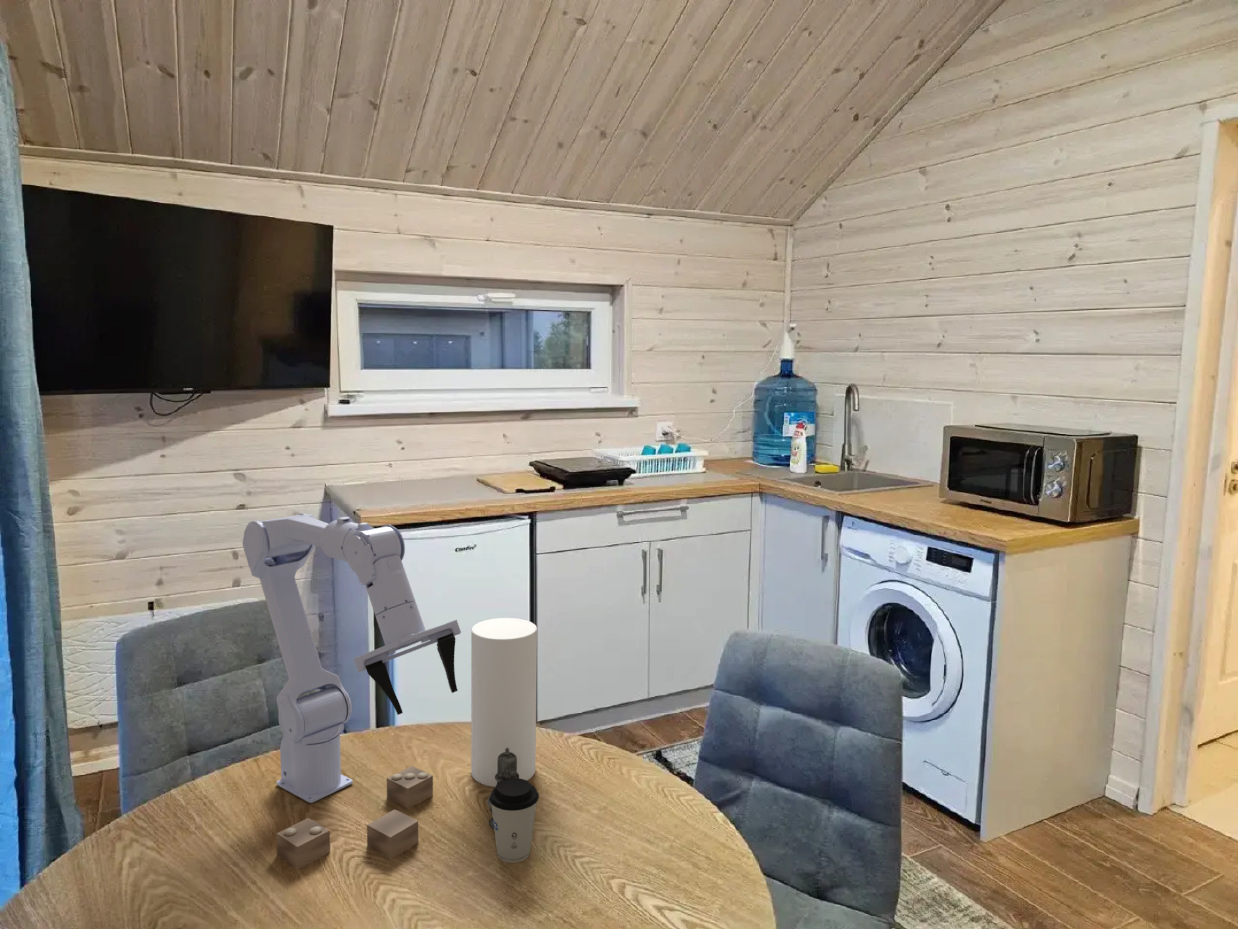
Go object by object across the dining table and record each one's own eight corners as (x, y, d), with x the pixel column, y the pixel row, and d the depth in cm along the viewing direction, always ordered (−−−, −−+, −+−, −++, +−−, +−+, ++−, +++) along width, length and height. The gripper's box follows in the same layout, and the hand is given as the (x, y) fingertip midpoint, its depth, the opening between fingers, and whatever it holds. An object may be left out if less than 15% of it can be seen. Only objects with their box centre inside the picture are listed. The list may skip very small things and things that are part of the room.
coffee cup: (546, 844, 120) (547, 779, 119) (525, 873, 114) (526, 804, 112) (502, 834, 123) (503, 770, 121) (479, 861, 116) (480, 794, 115)
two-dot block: (277, 856, 116) (276, 832, 116) (309, 840, 120) (308, 816, 120) (298, 870, 113) (297, 845, 113) (330, 853, 117) (329, 829, 117)
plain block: (367, 847, 119) (366, 825, 118) (394, 831, 123) (394, 809, 123) (390, 860, 116) (390, 837, 116) (418, 843, 120) (418, 821, 120)
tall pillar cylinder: (531, 788, 136) (533, 640, 132) (465, 786, 136) (465, 638, 132) (538, 756, 146) (540, 618, 143) (477, 754, 146) (477, 616, 143)
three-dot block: (387, 799, 132) (386, 777, 131) (411, 786, 136) (411, 764, 135) (407, 810, 129) (407, 787, 128) (432, 796, 133) (432, 774, 132)
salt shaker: (519, 836, 122) (519, 759, 121) (481, 830, 123) (481, 754, 122) (531, 814, 128) (532, 740, 126) (494, 809, 129) (495, 736, 127)
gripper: (342, 624, 111) (374, 724, 108) (447, 586, 116) (481, 681, 113) (344, 630, 117) (375, 724, 115) (444, 594, 122) (476, 683, 120)
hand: (427, 703), depth 114 cm, fingers open, 7 cm apart
